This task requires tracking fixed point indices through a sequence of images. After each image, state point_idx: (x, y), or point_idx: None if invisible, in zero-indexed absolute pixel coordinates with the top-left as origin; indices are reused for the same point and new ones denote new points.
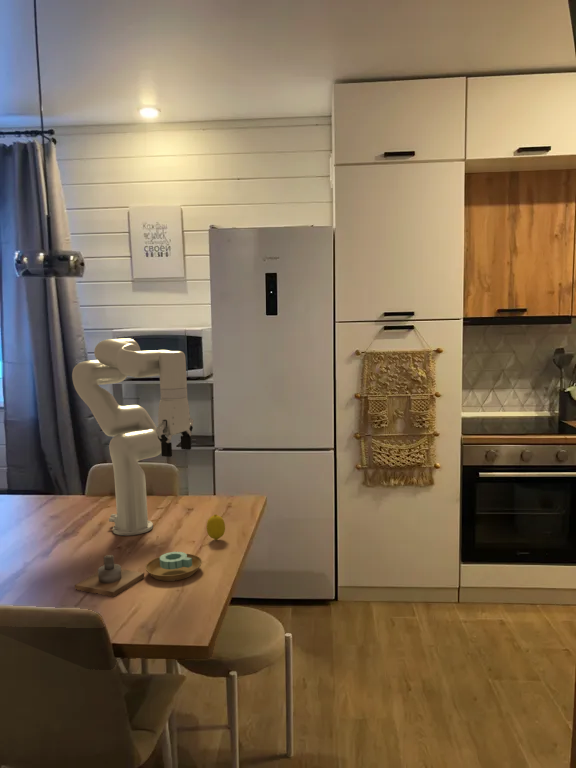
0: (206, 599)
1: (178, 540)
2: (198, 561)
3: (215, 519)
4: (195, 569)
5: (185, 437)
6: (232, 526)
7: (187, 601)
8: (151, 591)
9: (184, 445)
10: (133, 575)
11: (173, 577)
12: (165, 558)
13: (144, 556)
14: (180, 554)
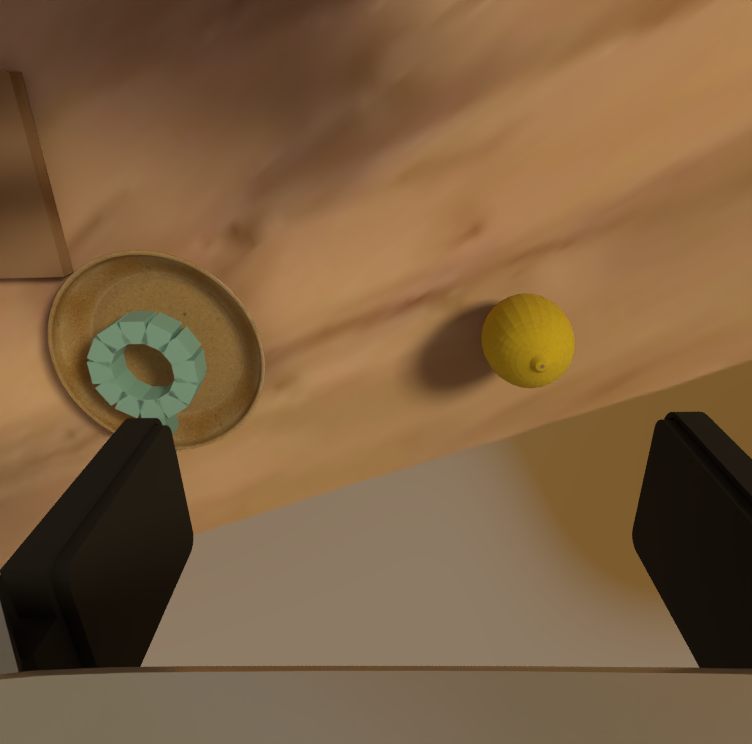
0: None
1: (464, 148)
2: (242, 407)
3: (511, 373)
4: None
5: (743, 653)
6: (705, 292)
7: (35, 493)
8: (13, 366)
9: (673, 507)
10: (23, 254)
11: (93, 402)
12: (111, 355)
13: (231, 120)
14: (175, 384)
